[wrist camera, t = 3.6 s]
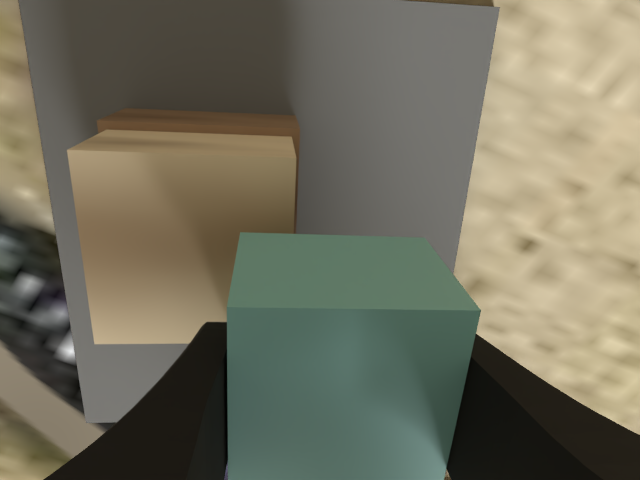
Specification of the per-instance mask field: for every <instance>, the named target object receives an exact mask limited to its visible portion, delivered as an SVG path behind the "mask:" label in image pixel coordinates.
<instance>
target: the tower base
mask: <svg viewBox="0 0 640 480" xmlns="http://www.w3.org/2000/svg"><path fill="white" fill-rule="evenodd" d="M97 127H98V134H99V133H101V132H103V131H105V130H106V129H107V130H133V131H159V132H185V133H211V134H236V135H262V136H288V137H292V140H293V145H294V149H295V154H296V181H295V209H294V234H296V223H297V197H298V171H299V145H300V127H299V124H298V121H297V118H296V115H273V114H250V113H227V112H204V111H181V110H157V109H134V108H124V109H122V110H120V111H117V112H115V113H113V114H111V115H108V116H106V117H104V118H101V119H99V120H97Z"/></svg>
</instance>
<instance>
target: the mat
mask: <svg viewBox="0 0 640 480" xmlns="http://www.w3.org/2000/svg"><path fill="white" fill-rule="evenodd" d="M19 6H20V13H21V19H22V25H23V31H24V38H25V44H26V50H27V56H28V63H29V69H30V75H31V81H32V88H33V94H34V100H35V106H36V113H37V119H38V125H39V131H40V138H41V144H42V150H43V156H44V163H45V169H46V175H47V181H48V188H49V194H50V200H51V206H52V212H53V219H54V225H55V231H56V237H57V244H58V250H59V256H60V262H61V269H62V275H63V281H64V287H65V294H66V300H67V306H68V312H69V319H70V325H71V331H72V337H73V344H74V350H75V356H76V362H77V369H78V375H79V381H80V387H81V394H82V400H83V406H84V412H85V419H86V423H101V422H118V421H119V420H120V419H121V418H122V417H123V416H124V415H125V414H126V413H127V412H129V411H130V410H131V409H132V408H133V407H134V406H135V405H136V404H137V403H138V402H139V401H140V400H141V399H142V397H143V396H144V395H145V394H146V393H147V392H148V391H149V390H150V389H151V388H152V387H153V386H154V385H155V384H156V383H157V382H158V381H159V380H160V379H161V377H162V376H163V375H164V374H165V373H166V372H167V370H168V369H169V368H170V367H171V366H172V365H173V363H174V362H175V361H176V360H177V359H178V357H179V356H180V355H181V354H182V352H183V351H184V350H185V349H186V347H187V346H188V345H189V344H94V338H93V331H92V324H91V317H90V310H89V303H88V296H87V289H86V281H85V274H84V267H83V260H82V253H81V246H80V239H79V232H78V225H77V218H76V211H75V204H74V196H73V189H72V182H71V175H70V168H69V161H68V154H67V150H68V149H70V148H72V147H74V146H76V145H77V144H79V143H81V142H83V141H85V140H87V139H89V138H91V137H93V136H95V135H97V134H98V127H97V120H99V119H101V118H104V117H106V116H108V115H111V114H113V113H115V112H117V111H120V110H122V109H124V108H134V109H157V110H181V111H204V112H227V113H250V114H273V115H296V118H297V121H298V124H299V127H300V145H299V171H298V197H297V223H296V234H316V235H351V236H385V237H419V238H425V239H426V240H427V241H428V242H429V244H430V245H431V246H432V248H433V249H434V250H435V252H436V253H437V254H438V255H439V257H440V258H441V259H442V261H443V262H444V263H445V265H446V266H447V267H448V268H449V270H450V271H451V272H452V274H453V272H454V267H455V261H456V255H457V249H458V244H459V238H460V232H461V226H462V221H463V215H464V209H465V203H466V198H467V192H468V186H469V180H470V175H471V169H472V163H473V158H474V152H475V146H476V140H477V135H478V129H479V123H480V117H481V112H482V106H483V100H484V94H485V89H486V83H487V77H488V71H489V66H490V60H491V54H492V49H493V43H494V37H495V31H496V26H497V20H498V14H499V8H500V7H490V6H476V5H462V4H448V3H433V2H419V1H405V0H19Z"/></svg>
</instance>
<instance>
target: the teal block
mask: <svg viewBox="0 0 640 480" xmlns="http://www.w3.org/2000/svg"><path fill="white" fill-rule="evenodd" d="M480 312H481V310H480V309H479V307H478V306H477V305H476V304H475V302H474V301H473V300H472V298H471V297H470V296H469V294H468V293H467V292H466V291H465V289H464V288H463V287H462V285H461V284H460V283H459V281H458V280H457V279H456V278H455V276H454V275H453V274H452V272H451V271H450V270H449V268H448V267H447V266H446V265H445V263H444V262H443V261H442V259H441V258H440V257H439V255H438V254H437V253H436V252H435V250H434V249H433V248H432V246H431V245H430V244H429V242H428V241H427V240H426V239H425V238H419V237H385V236H351V235H316V234H282V233H248V232H240V236H239V242H238V247H237V253H236V259H235V264H234V270H233V275H232V281H231V286H230V292H229V297H228V303H227V403H228V480H444V477H445V472H446V468H447V463H448V458H449V454H450V449H451V445H452V440H453V436H454V431H455V426H456V422H457V417H458V413H459V408H460V404H461V399H462V394H463V390H464V385H465V381H466V376H467V372H468V367H469V362H470V358H471V353H472V349H473V344H474V340H475V335H476V330H477V326H478V321H479V317H480Z"/></svg>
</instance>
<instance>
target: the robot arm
mask: <svg viewBox="0 0 640 480" xmlns="http://www.w3.org/2000/svg"><path fill="white" fill-rule="evenodd" d="M227 460H228V403H227V322H206V323H205V324H204V325H203V326H201V328H200V329H199V331H198V332H197V334H196V335H195V337H194V338H193V339H192V341H191V342H190V343H189V345H188V346H187V347H186V349H185V350H184V351H183V352H182V354H181V355H180V356H179V357H178V359H177V360H176V361H175V362H174V363H173V365H172V366H171V367H170V368H169V369H168V370H167V372H166V373H165V374H164V375H163V376H162V377H161V379H160V380H159V381H158V382H157V383H156V384H155V385H154V386H153V387H152V388H151V389H150V390H149V391H148V392H147V393H146V394H145V395H144V396H143V397H142V399H141V400H140V401H139V402H138V403H137V404H136V405H135V406H134V407H133V408H132V409H131V410H130V411H129V412H127V413H126V414H125V415H124V416H123V417H122V418H121V419H120V420H119V421H118V422H117V423H116V424H114V425H113V426H112V427H111V428H110V429H109V430H108V431H106V432H105V433H104V434H103V435H102V436H101V437H99V438H98V439H97V440H96V441H95V442H93V443H92V444H91V445H90V446H88V447H87V448H86V449H85V450H83V451H82V452H81V453H79V454H78V455H77V456H75V457H74V458H73V459H71V460H70V461H68V462H67V463H66V464H64V465H63V466H62V467H60V468H59V469H58V470H56V471H55V472H54V473H52V474H51V475H50V476H48V477H47V478H45V479H44V480H224V476H225V470H226V465H227ZM447 471H448V473H449V475H450V478H451V480H640V435H638V434H636V433H634V432H632V431H630V430H628V429H627V428H625V427H623V426H621V425H619V424H617V423H615V422H613V421H612V420H610V419H608V418H606V417H604V416H602V415H600V414H598V413H597V412H595V411H593V410H591V409H590V408H588V407H586V406H584V405H583V404H581V403H579V402H577V401H576V400H574V399H573V398H571V397H569V396H568V395H566V394H564V393H563V392H561V391H560V390H558V389H556V388H555V387H553V386H552V385H550V384H548V383H547V382H545V381H544V380H542V379H541V378H539V377H538V376H536V375H535V374H533V373H532V372H530V371H529V370H527V369H526V368H524V367H523V366H521V365H520V364H519V363H517V362H516V361H514V360H513V359H511V358H510V357H508V356H507V355H506V354H504V353H503V352H501V351H500V350H498V349H497V348H496V347H494V346H493V345H491V344H490V343H489V342H487V341H486V340H484V339H483V338H481V337H480V336H478V335H477V334H476V335H475V340H474V344H473V349H472V353H471V358H470V362H469V367H468V372H467V376H466V381H465V385H464V390H463V394H462V399H461V404H460V408H459V413H458V417H457V422H456V426H455V431H454V436H453V440H452V445H451V449H450V454H449V458H448V463H447Z"/></svg>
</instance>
